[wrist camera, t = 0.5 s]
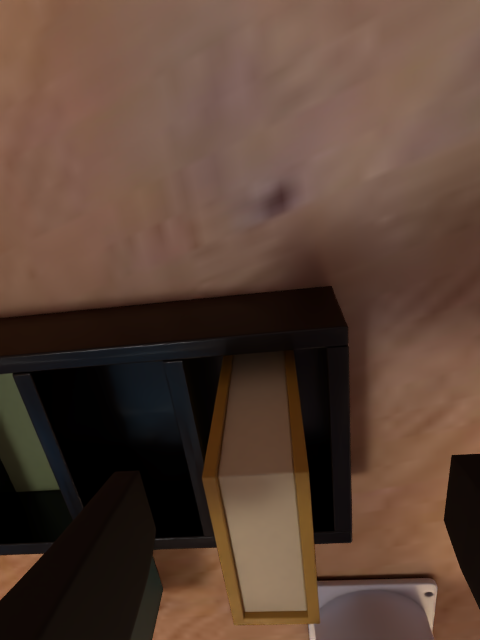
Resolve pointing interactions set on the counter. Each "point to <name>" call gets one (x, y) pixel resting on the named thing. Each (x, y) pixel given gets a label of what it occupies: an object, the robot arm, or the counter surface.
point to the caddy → (159, 409)
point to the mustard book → (262, 492)
